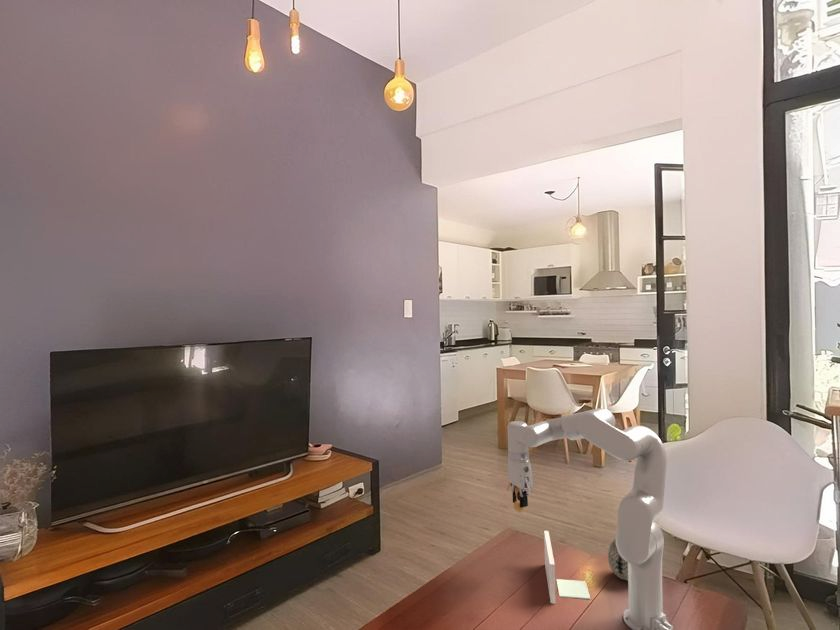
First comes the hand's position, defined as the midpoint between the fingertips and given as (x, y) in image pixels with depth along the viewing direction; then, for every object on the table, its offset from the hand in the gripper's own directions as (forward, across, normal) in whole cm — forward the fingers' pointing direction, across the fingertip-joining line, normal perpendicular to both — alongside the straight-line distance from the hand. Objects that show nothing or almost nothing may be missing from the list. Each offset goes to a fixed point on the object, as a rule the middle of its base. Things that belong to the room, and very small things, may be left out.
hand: (520, 503), depth 177 cm
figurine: (+3, +1, 0) cm, 3 cm away
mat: (+25, -17, -9) cm, 32 cm away
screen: (+25, -11, -4) cm, 27 cm away
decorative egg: (+25, -20, -30) cm, 44 cm away
